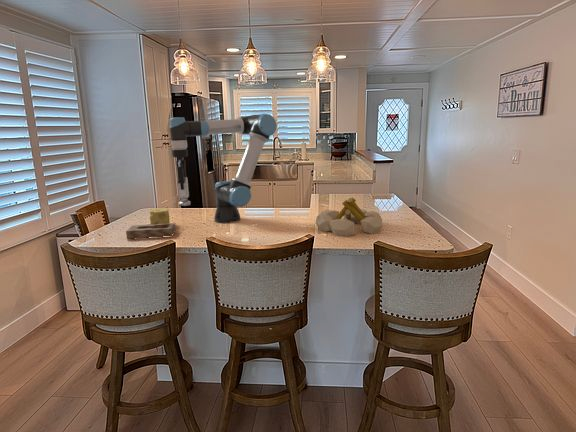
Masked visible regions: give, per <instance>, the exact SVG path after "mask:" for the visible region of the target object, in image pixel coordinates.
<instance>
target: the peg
mask: <svg viewBox="0 0 576 432" xmlns="http://www.w3.org/2000/svg"><path fill="white" fill-rule="evenodd" d="M176 179H177V188H178V189H177V190H178V198H179V199H180V201H178V206H179V207H187V206H191V203H192V202H191V200H189V199H188V198H189V197H190V191H189V182H188V181H189V180H188V177H187V176H186V177H184V181H185V182H184V183H185V189H186V196H180V186H179V183H178V177H177V178H176Z"/></svg>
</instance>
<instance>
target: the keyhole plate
mask: <svg viewBox="0 0 576 432" xmlns="http://www.w3.org/2000/svg"><path fill="white" fill-rule="evenodd" d="M174 231H175V232H176V224H175V222H174V223H173V222H171V223H170V222H169V223H167V224H132V225H131V226H130V227H129V228H127V229H126V230H125V234H126V240H127V239H131V240H136V239H135V238H149V237H163V236H172V234H173V233H174ZM174 234H175V233H174ZM174 234H173V235H174ZM172 237H173V236H172ZM149 239H150V238H149Z"/></svg>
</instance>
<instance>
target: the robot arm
mask: <svg viewBox="0 0 576 432" xmlns="http://www.w3.org/2000/svg"><path fill="white" fill-rule="evenodd" d="M277 124H278V123H277V121H276V119H275V117H274V116H272V115H271V114H269V113H261V114H251V115H247V116H238V117H237V118H236V119H234V118H232V119H231V118H230V119H216V120H215V119H214V120H212V119H211V120H190V121H189V120H186V119H185V117H184V116H183V117H180V116H179V117H177V116H176V117H171V118H169V134H170V141H171V142H170V145H171V149H172V150H171V151H172V152H171V153H172V158H177V160H176V163H175V164H176V171H177V178H178V181H177V184H178V183H179V186H180V196H186V189H185V183H184V182H185V181H184V177H187V170H186V160H185V158H187V157H188V156H189V153H188V152H189V151H188V149H187V148H188V140H187V139H188V138H187V137H204V136H208V135H221V134H223V135H224V134H225V135H226V134H239V135H249V140H248V142H247V145H246V148H245V151H244V153H243V155H242V159H241V160H240V164H239V166H238V169H237V172H236V175H235V176H234V177H233V178H231V180H228V181H227V180H225V181H217V182H216V183H215V184H214V190H215V202H216V203H215V204H216V209H215V212H214V222H215V223H221V224H222V223H223V224H224V223H225V224H228V223H235V222H238V221H240V220H241V214H240V211H239V210H238V207H239V208H242V207H245V206H247V205H248V204H249V203H250V201H251V197H252V192H251V188H252V185H251V181H252V178H253V175H254V173H255V171H256V170H255V169H256V166H257V164H258V161H259V158H260V156H261V153H262V150H263V148H264V145H265V143H268V142H269V139H270V137H271V136H273V135H274V134H275V133H276V131H277V129H278V128H277V127H278V125H277Z"/></svg>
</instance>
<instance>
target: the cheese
mask: <svg viewBox="0 0 576 432" xmlns="http://www.w3.org/2000/svg"><path fill="white" fill-rule="evenodd" d="M149 216H150V217H149V221H150V224H167V223H170V212H169V208H168V207H165V208H164V207H162V208H151V209H149Z"/></svg>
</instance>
